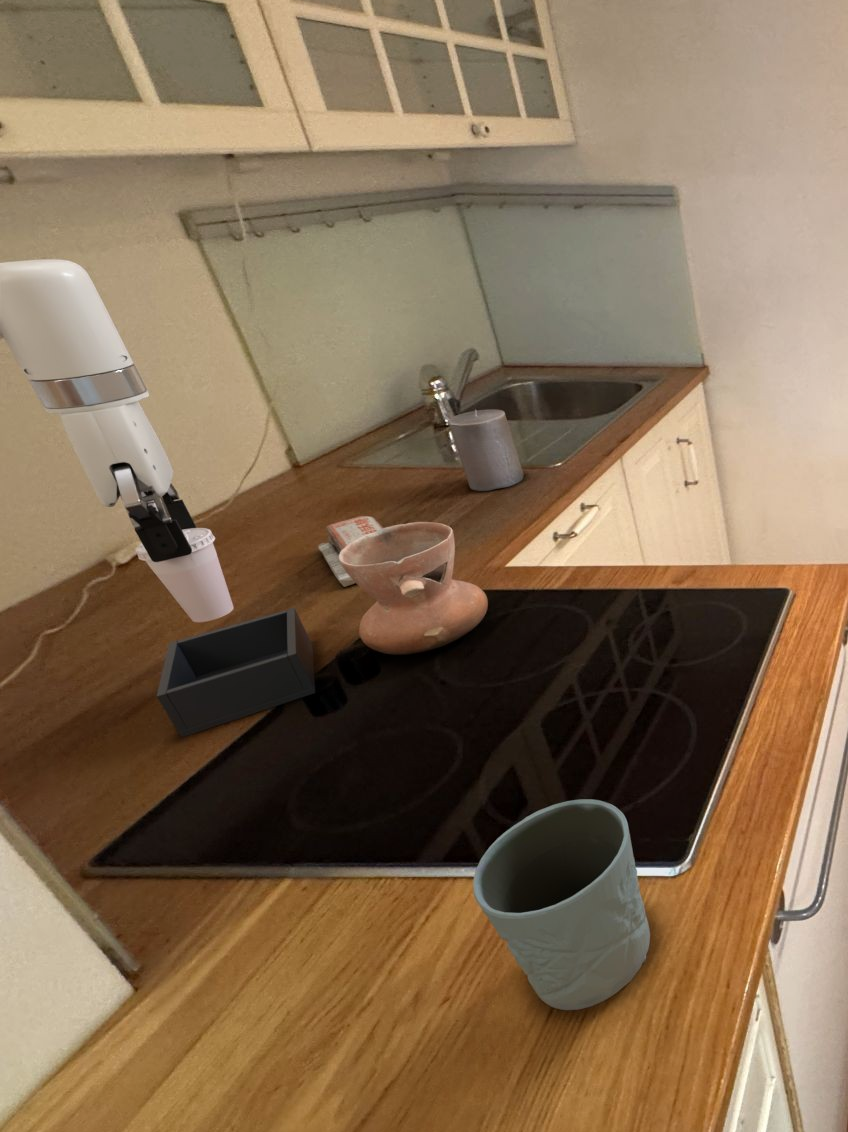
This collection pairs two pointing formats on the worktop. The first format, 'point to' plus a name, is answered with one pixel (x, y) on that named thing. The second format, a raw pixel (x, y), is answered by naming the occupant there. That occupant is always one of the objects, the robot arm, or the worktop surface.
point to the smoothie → (194, 577)
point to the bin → (236, 672)
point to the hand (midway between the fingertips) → (176, 544)
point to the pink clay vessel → (412, 588)
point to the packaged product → (345, 542)
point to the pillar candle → (486, 449)
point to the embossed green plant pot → (567, 901)
